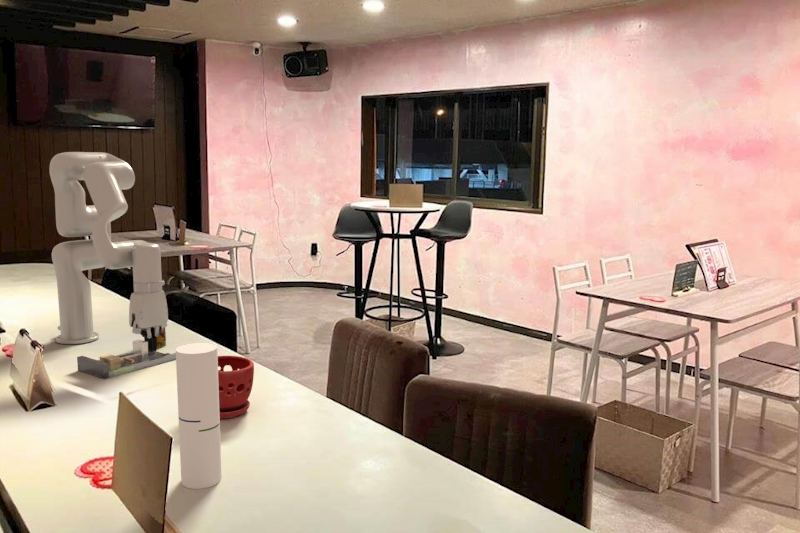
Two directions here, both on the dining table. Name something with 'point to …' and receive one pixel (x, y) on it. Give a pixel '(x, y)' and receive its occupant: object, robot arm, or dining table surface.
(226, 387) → the plant pot
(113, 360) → the beech block
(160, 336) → the condiment
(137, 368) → the tray
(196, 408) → the cylindrical container
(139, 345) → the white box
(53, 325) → the dining table surface
